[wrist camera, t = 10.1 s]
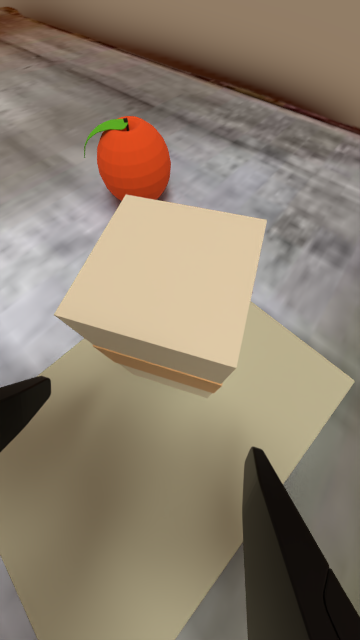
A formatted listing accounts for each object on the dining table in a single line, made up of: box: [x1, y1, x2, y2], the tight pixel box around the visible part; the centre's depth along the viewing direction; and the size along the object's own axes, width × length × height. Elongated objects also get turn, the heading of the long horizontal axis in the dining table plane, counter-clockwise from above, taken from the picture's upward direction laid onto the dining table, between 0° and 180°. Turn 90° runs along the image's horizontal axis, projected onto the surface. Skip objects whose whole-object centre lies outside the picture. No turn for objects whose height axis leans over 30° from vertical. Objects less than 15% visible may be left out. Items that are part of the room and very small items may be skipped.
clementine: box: [84, 116, 171, 201], centre depth 21 cm, size 8×7×7 cm
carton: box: [54, 195, 267, 398], centre depth 12 cm, size 6×6×10 cm
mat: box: [0, 301, 355, 640], centre depth 15 cm, size 22×16×1 cm
